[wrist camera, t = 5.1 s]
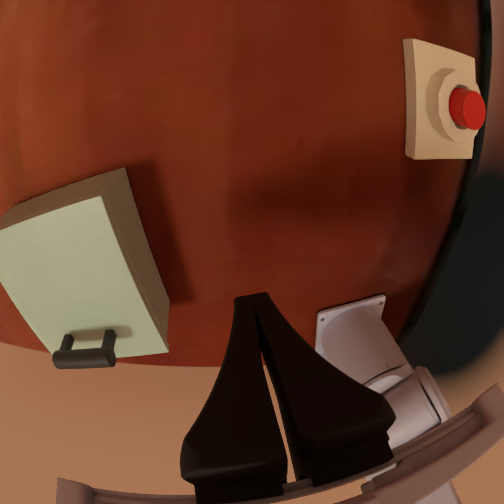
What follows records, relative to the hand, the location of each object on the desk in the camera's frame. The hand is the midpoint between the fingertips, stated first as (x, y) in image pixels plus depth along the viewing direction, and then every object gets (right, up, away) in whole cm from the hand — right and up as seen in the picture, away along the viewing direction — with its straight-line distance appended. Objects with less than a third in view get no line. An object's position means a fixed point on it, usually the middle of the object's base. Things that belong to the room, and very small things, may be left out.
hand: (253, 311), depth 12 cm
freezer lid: (-13, -1, +5) cm, 14 cm away
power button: (+16, +14, +4) cm, 22 cm away
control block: (+16, +15, +6) cm, 23 cm away
